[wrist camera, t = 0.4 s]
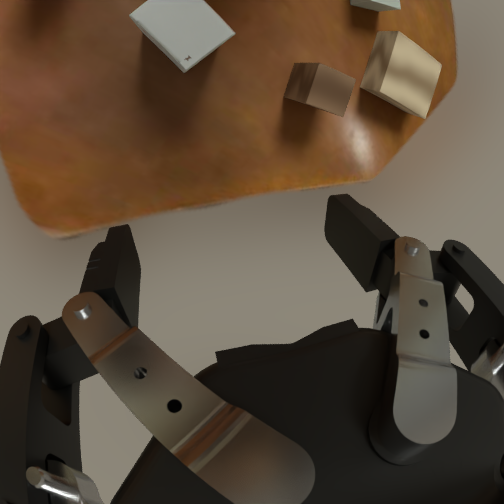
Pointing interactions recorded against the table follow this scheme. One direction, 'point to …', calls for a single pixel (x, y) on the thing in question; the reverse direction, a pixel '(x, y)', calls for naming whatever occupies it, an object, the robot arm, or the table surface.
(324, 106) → the walnut block
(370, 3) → the grey cube
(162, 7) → the small box
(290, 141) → the table surface
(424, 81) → the oak block
